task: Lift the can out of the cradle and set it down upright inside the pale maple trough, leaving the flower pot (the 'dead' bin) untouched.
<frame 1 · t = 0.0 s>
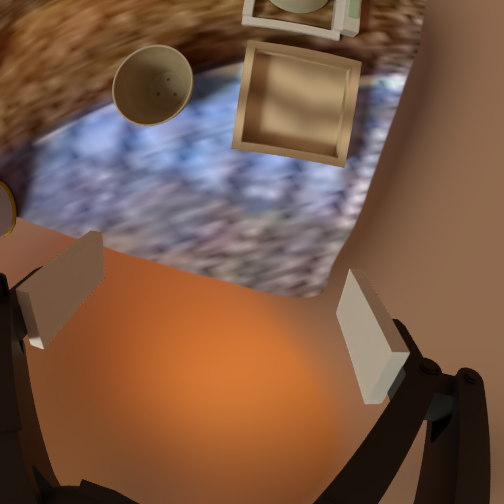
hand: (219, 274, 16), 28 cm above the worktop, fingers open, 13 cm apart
soap bottle: (0, 207, 44), on the worktop
trough: (295, 103, 37), on the worktop
flower pot: (168, 90, 37), on the worktop
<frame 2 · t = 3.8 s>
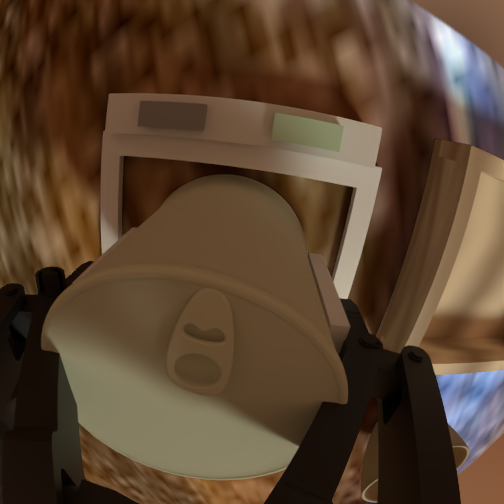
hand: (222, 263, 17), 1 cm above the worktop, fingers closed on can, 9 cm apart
cradle: (225, 252, 18), on the worktop
trough: (482, 263, 18), on the worktop
can: (225, 251, 19), resting in cradle, touching gripper
flower pot: (398, 419, 25), on the worktop
when the fingers open (4 cm above the worktop, at t = 8.8 s): can drops 2 cm, resting on trough.
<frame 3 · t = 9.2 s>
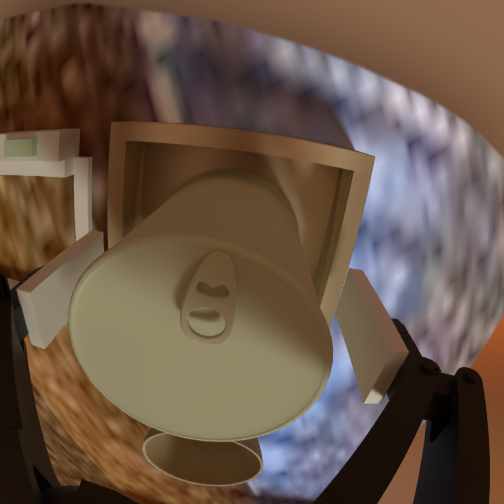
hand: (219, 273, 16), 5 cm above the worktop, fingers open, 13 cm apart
cradle: (22, 230, 21), on the worktop
trough: (230, 236, 21), on the worktop
can: (228, 239, 20), point 1 cm above the worktop, touching trough
flower pot: (212, 401, 28), on the worktop
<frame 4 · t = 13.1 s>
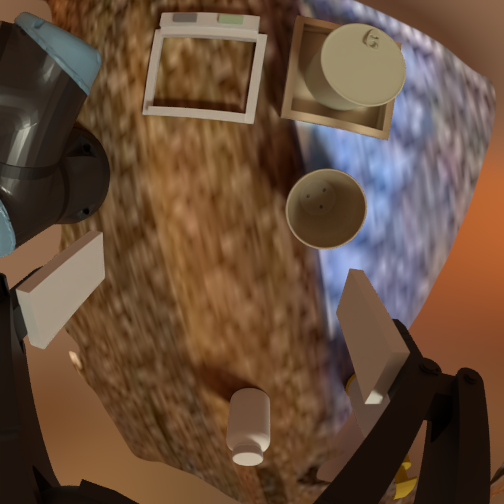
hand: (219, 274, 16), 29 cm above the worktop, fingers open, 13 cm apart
cradle: (203, 72, 37), on the worktop
soap bottle: (371, 380, 57), on the worktop
trough: (338, 79, 36), on the worktop
can: (338, 78, 36), point 1 cm above the worktop, touching trough
flower pot: (317, 196, 43), on the worktop
pill bottle: (250, 398, 59), on the worktop
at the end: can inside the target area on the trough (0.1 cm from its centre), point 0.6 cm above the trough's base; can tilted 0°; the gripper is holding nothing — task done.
